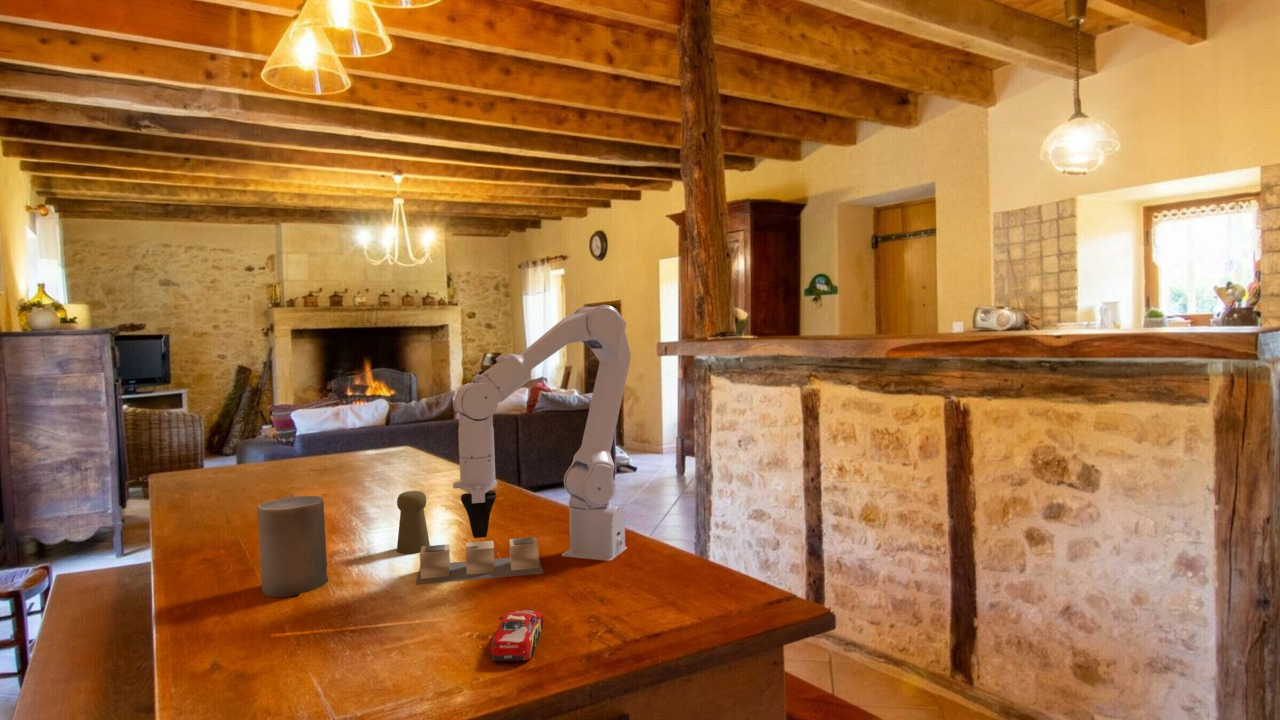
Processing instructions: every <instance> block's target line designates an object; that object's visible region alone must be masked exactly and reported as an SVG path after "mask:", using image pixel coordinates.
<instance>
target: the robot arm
mask: <svg viewBox="0 0 1280 720" xmlns="http://www.w3.org/2000/svg"><path fill="white" fill-rule="evenodd" d="M626 328H627V321H626V320H625V319H624V318H623V316H622V315H621V314H620V312H619V311H618V310H617V308H615V307H613V306H612V305H609V304H601V305H597V306H582V307H579V308H578V309H576V310H575V311H574V312H573V313H570V314H568V315H567V316H565V317H563V318H562V319H561V320H560V321H559V322H557V323H556V324H555V325H554V326H552V327H551V328H549V330H547V331H546V332H545V333H544V334H543V335H542V336H540V337H539V338H538V339H536V341H534V342H533V343H532V344H531V345H529V346H528V347H527V348H526V349H525V350H523V351H522V352H521V353H519V354H515V353H508V354H507V355H504V354H503V355H502V354H501V355H498V357H496V358H495V361H496V363H494V364H493V365H492V366H491V367H490V368H488V369H487V370H485V371H483V372H482V373H480V374H479V373H476V374H475V375H474V376H473V379H474V382H468V383H466V384H463V385H462V386H460V387H459V388H458V389H457V391H456V394H455V395H454V399H453V400H452V404H453V408H454V409H455V410H456V412H457V413H458V433H457V434H458V454H459V476H460V478H459V479H460V480H459V481H455V482H453V484H452V486H453V487H452V489H460V490H463V491H465V492H466V493H463V494H461V496H460V501H461V503H462V506H463V507H464V509H465V510H466V514H467V516H468V520H469V524H470V531H471V533H472V536H473V538H474V539H481V538H487V535H488V532H489V531H488V530H489V525H490V524H489V523H490V516H491V511H492V508H493V505H494V504H495V501H496V499H497V494H496V490H493V489H494V488H496V487H497V485H498V482H497V480H496V461H495V459H496V456H495V455H496V454H495V431H494V430H495V428H494V417H493V415H494V414H495V412H496V411H497V408H498V405H499V404H501V403H502V402H503V401H505V400H506V399H507V398H509V397H510V396H512V395H513V394H514V393H515V392H516V391H518V390H519V389H521V388H522V387H523V386H524V385H526V383H528V382H529V381H531V375H532V371H533V369H535V368H536V367H537V366H539V365H541V363H543V362H544V361H546V360H547V359H549V358H550V357H552V356H553V355H554V354H555V353H557V352H559V351H560V350H561V349H563V348H564V347H565V346H567V345H568V344H572V343H580V342H581V343H583V344H585V345H586V346H587V347H589V348H590V350H591V352H592V353H593V354H594V355H595V357H596V358H597V360H598V363H599V364H598V368H597V373H596V377H595V382H594V387H593V391H592V396H591V401H590V405H589V409H588V413H587V414H588V415H587V419H586V424H585V428H584V432H583V435H582V436H583V437H582V440H581V446H580V448H579V449H578V450H577V452H575V454H574V455H573V459H572V463H571V465H569V467H568V469H567V470H566V472H565V473H564V477H563V485H564V489H565V490H566V492H567V493H568V494H569V495H570V497H569V501H568V507H569V508H568V509H569V513H568V514H569V517H568V518H569V549H568V550H566V551H564V552H563V553H561V554H560V555H561V557H563V558H564V557H565V558H576V559H585V560H595V561H596V560H597V561H605V562H606V561H607V562H610V561H612V560H614V559H615V558H617V557H618V556H619V555H620V554H622V553H623V552H624V551H625V550H627V549H628V547H627V546H626V527H625V526H626V523H625V521H626V520H625V519H626V518H625V512H624V509H623V507H621V506H618V505H614V504H611V503H610V501H611V500H612V499H613V496H614V493H615V490H616V483H615V480H614V471H615V463H614V461H613V458H612V454H611V453H612V451H611V450H612V447H613V443H614V437H615V433H616V428H617V424H618V419H619V415H620V409H621V407H622V406H621V405H622V400H623V397H624V392H625V388H626V382H627V377H628V373H629V368H630V364H631V363H630V362H631V358H632V354H631V350H630V346H629V341H628V337H627V333H626Z"/></svg>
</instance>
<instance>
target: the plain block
mask: <svg viewBox="0 0 1280 720" xmlns="http://www.w3.org/2000/svg"><path fill="white" fill-rule="evenodd" d="M494 559H495V544H494V540H486V541H483V540H482V541H472V542H471V541H470V542H466V543H465V562H466V571H467V574H479V573H490V572H495V566H494Z"/></svg>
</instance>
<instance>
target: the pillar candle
mask: <svg viewBox="0 0 1280 720" xmlns="http://www.w3.org/2000/svg"><path fill="white" fill-rule="evenodd" d="M324 506H325V505H324V498H323V497H321V496H318V495H317V496H316V495H298V496H293V493H291V494H290V496H288V497H282V498H278V499H277V498H276V499H272V500H269V501H265V502H263V503H260V504H259V505H257V518H258V520H257V521H258V522H257V523H258V536H259V537H258V539H259V540H258V541H259V556H260V557H259V561H260V575H261V577H260V578H261V590H262V594H263V595H264V596H266V597H270V598H271V597H272V598H284V597H285V598H286V597H295V596H298V595H300V594H304V593H308V592H312V591H315V590H317V589H319V588H321V587H323V586H324V585H326V583H328V582H329V577H328V563H327V559H328V558H327V544H326V541H327V540H326V539H327V538H326V528H325V527H326V526H325V525H326V523H325V521H326V520H325V519H326V518H325V507H324Z"/></svg>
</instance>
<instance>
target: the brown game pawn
mask: <svg viewBox="0 0 1280 720" xmlns="http://www.w3.org/2000/svg"><path fill="white" fill-rule="evenodd" d="M396 505H397V509H398V510H399V512H400V515H399V523H398V526H399V527H398V535H397V542H396V543H397V544H396V545H397V547H396V552H397V553H398V554H403V555H413V554H420V552H421V548H422V546H431V543H430V537H429V532H428V526H427V521H426V514H425V510H424V509H425V508H426V506H427V495H426V494H425V493H424V492H423V491H420V490H410V491H409V490H407V491H404V492H401V493H400V494H399V495H398V497H397V501H396Z"/></svg>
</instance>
